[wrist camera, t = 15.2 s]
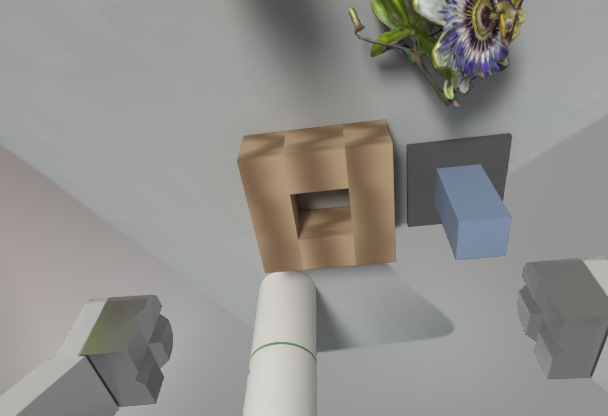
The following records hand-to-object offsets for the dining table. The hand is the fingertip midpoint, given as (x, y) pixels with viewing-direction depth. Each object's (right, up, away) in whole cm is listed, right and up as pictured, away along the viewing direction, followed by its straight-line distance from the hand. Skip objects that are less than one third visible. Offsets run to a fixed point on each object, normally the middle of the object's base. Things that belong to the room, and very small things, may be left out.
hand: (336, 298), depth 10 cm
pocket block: (+1, +4, +39) cm, 39 cm away
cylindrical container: (-3, -8, +48) cm, 49 cm away
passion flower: (+10, +19, +29) cm, 36 cm away
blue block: (+15, +4, +38) cm, 41 cm away
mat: (+15, +5, +38) cm, 41 cm away
